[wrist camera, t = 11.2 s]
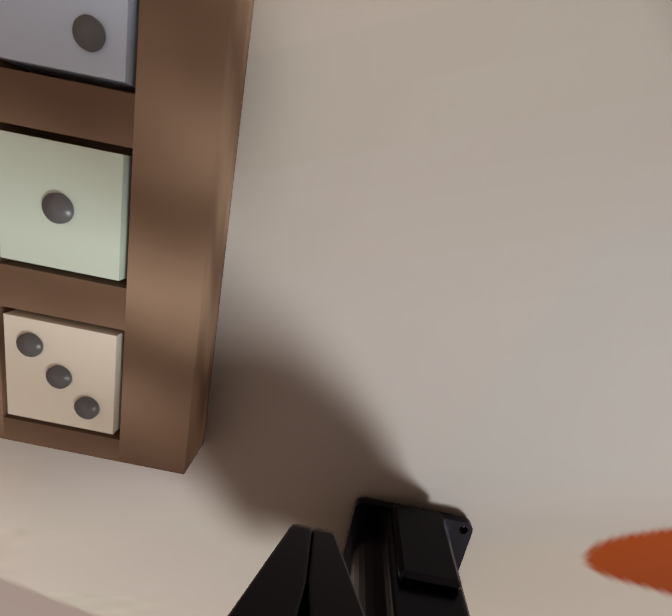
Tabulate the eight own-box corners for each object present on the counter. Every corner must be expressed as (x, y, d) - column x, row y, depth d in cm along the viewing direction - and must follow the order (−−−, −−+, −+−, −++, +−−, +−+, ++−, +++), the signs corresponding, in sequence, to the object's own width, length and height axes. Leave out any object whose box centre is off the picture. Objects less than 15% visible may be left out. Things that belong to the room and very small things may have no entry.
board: (203, 443, 21) (183, 474, 19) (-15, 400, 21) (-62, 425, 19) (261, -67, 15) (243, -118, 13) (-48, -130, 15) (-124, -192, 13)
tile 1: (143, 272, 18) (116, 281, 16) (37, 251, 18) (-3, 257, 16) (149, 159, 17) (121, 154, 15) (35, 136, 17) (-10, 128, 15)
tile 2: (152, 95, 16) (122, 81, 14) (33, 72, 16) (-15, 53, 14) (160, -50, 15) (128, -89, 13) (29, -76, 15) (-23, -120, 13)
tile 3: (135, 412, 20) (110, 436, 18) (40, 393, 20) (5, 415, 18) (140, 322, 19) (114, 337, 17) (39, 301, 19) (0, 314, 17)
